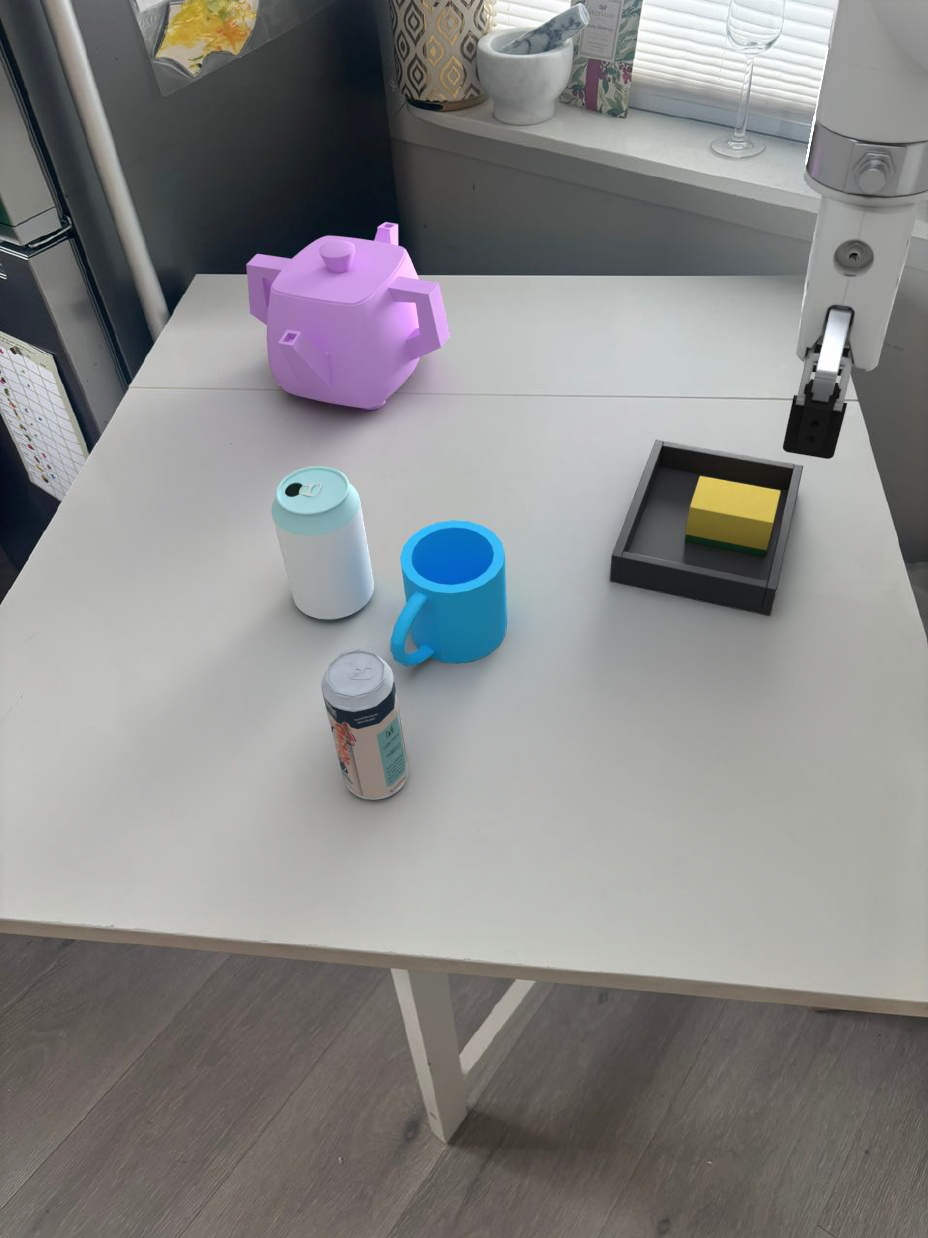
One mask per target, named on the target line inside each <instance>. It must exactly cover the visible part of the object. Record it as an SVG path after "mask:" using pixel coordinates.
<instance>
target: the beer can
mask: <svg viewBox="0 0 928 1238" xmlns="http://www.w3.org/2000/svg"><path fill="white" fill-rule="evenodd" d="M320 685H321V686H320V687H321V694H322V698H323V701H324V705H325V710H326V713H327V718H328V721H329V722H328V723H329V725H330V729H331V733H332V737H333V741H334V745H335V750H336V754H337V757H338V760H339V765H340V769H341V774H342V777H343V781H344V783H345V785H346V787H347V789H348V790H349V791H350V793H352V794H353V795H354V796H356V797H358V798H361V799H364V800H372V801H375V800H382V799H386V798H388V797H391V796H392V795H394V794H396V793H397V792H398V791H400V789H401V788H402V787H403V786H404V785H405V783H406V781H407V778H408V776H409V763H408V757H407V751H406V745H405V738H404V732H403V727H402V726H403V725H402V721H401V714H400V713H401V712H400V708H399V707H400V706H399V701H398V695H397V690H396V683H395V678H394V673H393V670H392V668H391V666H390V665H389V664H388V663H387V662H386V661H385V660H384V659H382V658H381V657H380V656H379V655H377V653H376V652H371V651H369V650H364V649H360V648H358V649H354V650H350V651H347V652H343V653H340V654H339V655H337V657H335V658H334V659H333V660H332V661H331V662H330V663H328V665H327V667H326V669H325V671H324V674H323V675H322V678H321V684H320Z"/></svg>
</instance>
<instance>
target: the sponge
mask: <svg viewBox="0 0 928 1238" xmlns="http://www.w3.org/2000/svg"><path fill="white" fill-rule="evenodd" d="M780 492H781V491H779V490H774V489H769V488H763V487H758V486H752V485H747V484H741V483H736V482H730V481H725V480H719V479H714V478H709V477H703V476H700V477H699V480H698V483H697V486H696V489H695V493H694V496H693V499H692V502H691V505H690V509H689V516H688V522H687V529H686V535H685V541H687V542H692V543H697V544H702V545H707V546H712V547H717V548H722V549H727V550H732V551H737V552H742V553H747V554H752V555H757V556H762V557H765V556H766V551H767V547H768V543H769V539H770V535H771V531H772V526H773V522H774V518H775V514H776V509H777V505H778V501H779V497H780Z"/></svg>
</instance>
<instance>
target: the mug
mask: <svg viewBox="0 0 928 1238" xmlns="http://www.w3.org/2000/svg"><path fill="white" fill-rule="evenodd" d="M399 561H400V566H401V573H402V574H401V575H402V582H403V588H404V596H405V597H404V598H405V603H406V604H405V605H404V606H403V608H402V610H401V612H400V613H399V615H398V618H397V619H396V622H395V624H394V626H393V630H392V633H391V637H390V653H391V656H392V657H393V660H394V661H395V662H396V663H398V664H400V665H403V666H404V667H411V666H416V665H419V664H422V663H423V662H425V661H427V660H428V659H433V660H436V661H438V662H442V663H450V664H462V663H469V662H474V661H477V660H480V659H482V658H484V657H486V656H488V655H490V654H491V653H492V652H494V650H496V649H497V648H498V647H499V646H500V644H501V643H502V641H503V640H504V638H505V637H506V632H507V628H508V627H507V626H508V615H507V614H508V611H507V610H508V609H507V608H508V607H507V606H508V605H507V575H506V571H507V570H506V552H505V549H504V544H503V541H502V540H501V539H500V538H499V537H498V536H497V534H496V533H495V532H493V530H491V529H489V528H487V527H486V526H485V525H482V524H479V523H476V522H472V521H468V520H456V519H455V520H454V519H453V520H452V519H451V520H445V521H438V522H434V523H432V524H429V525H427V526H424V527H422V528H421V529H419V530H418V531H416V532H415V533H413V534H412V535H410V537H409V538H408V539H407V541H406V542H405V543H404V544H403V546H402V549H401V553H400V556H399ZM409 632H410V638H411V640H412V642H413V643H414V645H415V647H416V648H417V649H416V650H414V651H412V652H411V653H407V651H406V642H407V639H408V635H409Z"/></svg>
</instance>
